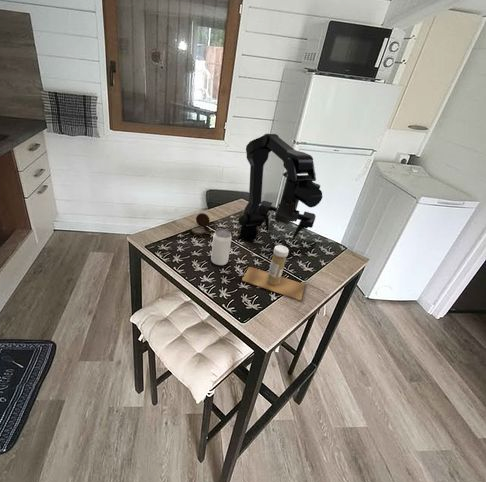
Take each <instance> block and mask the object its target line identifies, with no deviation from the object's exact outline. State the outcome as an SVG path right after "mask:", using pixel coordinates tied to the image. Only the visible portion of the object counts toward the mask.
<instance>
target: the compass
mask: <svg viewBox="0 0 486 482" xmlns="http://www.w3.org/2000/svg"><path fill="white" fill-rule="evenodd" d="M195 221H196V224H197V225H198V226H194V227H192V228H191V231H190V232H191V233H192V234H193V235H196V236H203V235H205V234H206V235H208V234H210V232H207V230H206V229H205V227H207V226H209V225H210V217H209V215H208V214H206V213H205V212H200V213H199V214H197V215H196V217H195Z"/></svg>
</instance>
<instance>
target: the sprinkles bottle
mask: <svg viewBox="0 0 486 482" xmlns="http://www.w3.org/2000/svg"><path fill="white" fill-rule="evenodd" d="M289 252H290V250H289V248H288V247H287V246H285V245H282V244H278V245H275V246H274V248H273V253H272V258H271V261H270V264H269V269H268V273H269V274H268V277H267V282H268V283H270V284H272V285H278V284H279V283H280V278H281V277H282V275H283V271H284V269H285V268H284V267H285V265H286V260H287V257H288V255H289Z"/></svg>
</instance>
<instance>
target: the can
mask: <svg viewBox="0 0 486 482" xmlns="http://www.w3.org/2000/svg"><path fill="white" fill-rule="evenodd" d="M232 238H233V237H232V232H231V231H230V230H228V229H227V228H217V229H216V230H215V231H214V233H213V238H212V245H211V255H210V261H211V262H212V264H214V265H216V266H225V265H227V264H228V263H229V259H230V251H231V246H232Z"/></svg>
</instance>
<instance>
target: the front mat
mask: <svg viewBox="0 0 486 482" xmlns="http://www.w3.org/2000/svg"><path fill="white" fill-rule="evenodd" d="M268 274H269V271H265V270H262V269H259V268H256V267H253V266H248V268H247V269H246V272H245V273H244V275H243V277H242V279H241V282H244V283H247V284H250V285H253V286H256V287H258V288H261V289H264V290H267V291H270V292H273V293H276V294H279V295H281V296H285V297H288V298H290V299H293V300H297V301H299V302H301V301H302V299H303V295H304V294H303V293H304V290H305V286H306V284H305V283H302V282H300V281H297V280H292V279H289V278H288V277H283V276H281V278H280V283H279V284H278V285H272V284H270V283H268V282H267V277H268Z"/></svg>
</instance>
